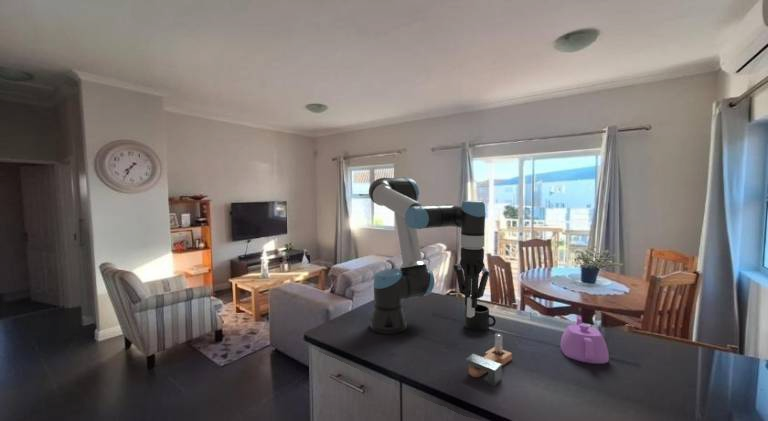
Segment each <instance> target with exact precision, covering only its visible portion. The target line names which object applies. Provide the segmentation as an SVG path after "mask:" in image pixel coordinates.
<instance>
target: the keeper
mask: <svg viewBox="0 0 768 421" xmlns="http://www.w3.org/2000/svg"><path fill="white" fill-rule="evenodd" d="M483 357H484V356H480V355H478V354H475V353H472V354H470V355H469V356H468V357H466V358H465V364H467V365H468V366H469V365H472V366H474V367H477V368H479V369H482V370H484V371H487V372H486V373H487V383H488V384H489V385H492V386H494V387H496V386H497V385H498V383H500V382H501V381H502V376H503V374H502V373H503V370H502V367H503V366H502V364H500V363H497V362H494V361H492V360H489V359H486V358H483Z"/></svg>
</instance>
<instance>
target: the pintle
mask: <svg viewBox="0 0 768 421" xmlns="http://www.w3.org/2000/svg"><path fill="white" fill-rule="evenodd" d="M494 347H495V354H496V355H498V356H502V350H503V335H502V333H495V334H494Z"/></svg>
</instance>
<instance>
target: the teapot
mask: <svg viewBox="0 0 768 421" xmlns="http://www.w3.org/2000/svg"><path fill="white" fill-rule="evenodd" d="M560 350H561V352H562V353H563V355H564V356H566V357H567V358H569V359H572V360H575V361H579V362H582V363H588V364H595V365H596V364H607V363H608V361H609V359H610V356H609V355H610V354H609V349H608V346H607V343H606V341H605V339H604V337H603V335H602V333H601V331H599V329H597V328H595V327H593V326H590V325H588V324H585V323H583V320H582V317H581V315H576V324H568V325H567V327H566V328H565V330H564V332H563V333H562V335H561V340H560Z"/></svg>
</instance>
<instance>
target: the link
mask: <svg viewBox="0 0 768 421" xmlns="http://www.w3.org/2000/svg"><path fill="white" fill-rule="evenodd" d="M482 357H483V358H486V359H489V360H492V361H494V362H497V363H500V364H502V367H503V366H504V365H505V364H507V363H509V362H510V361H512V360H513V352H510V351H508V350H504V349H502V356H498V355H496V354H495V346H494V347H492V348H490V349H489V350H487V351H485V352H484V356H482ZM486 373H488V372H487V371H484V370H482V369H479V368H477V367H474V366H472V365H469V364H468V374H469V376H470V377H474V378H480V377H482V376H483V375H485V374H486Z"/></svg>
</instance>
